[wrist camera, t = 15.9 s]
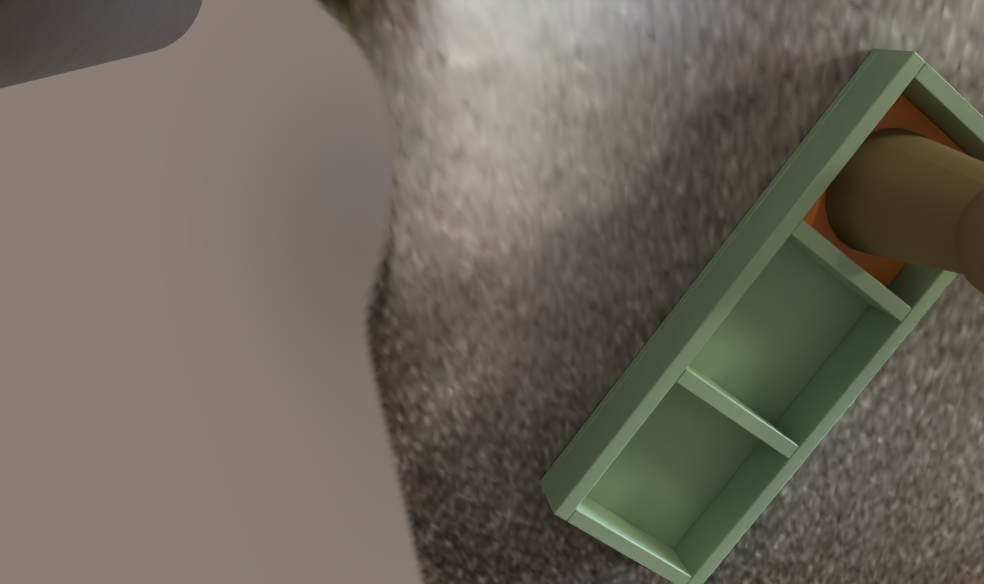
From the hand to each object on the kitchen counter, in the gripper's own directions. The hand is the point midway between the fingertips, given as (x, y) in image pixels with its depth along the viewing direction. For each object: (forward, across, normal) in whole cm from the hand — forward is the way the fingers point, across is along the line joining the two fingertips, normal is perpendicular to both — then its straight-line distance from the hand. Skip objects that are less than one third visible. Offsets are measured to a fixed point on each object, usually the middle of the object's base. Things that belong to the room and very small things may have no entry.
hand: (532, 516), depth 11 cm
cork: (+28, +23, -6) cm, 37 cm away
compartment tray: (+29, +17, -11) cm, 35 cm away
